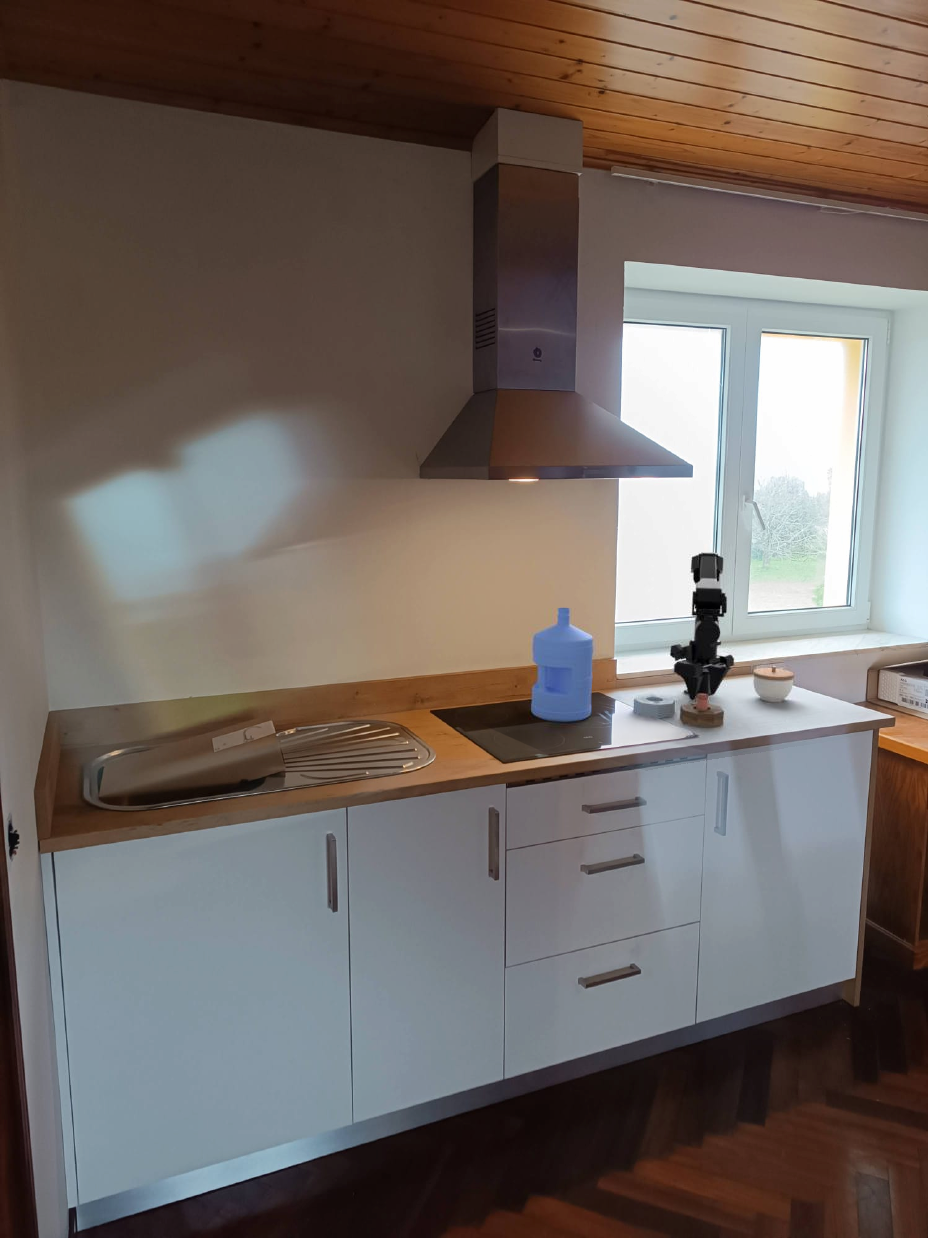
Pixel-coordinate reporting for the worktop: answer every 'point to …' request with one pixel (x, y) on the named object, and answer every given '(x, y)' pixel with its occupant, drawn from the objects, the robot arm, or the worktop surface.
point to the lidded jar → (772, 683)
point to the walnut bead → (701, 715)
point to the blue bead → (654, 705)
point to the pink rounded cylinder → (702, 702)
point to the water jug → (562, 671)
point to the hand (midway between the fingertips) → (702, 696)
